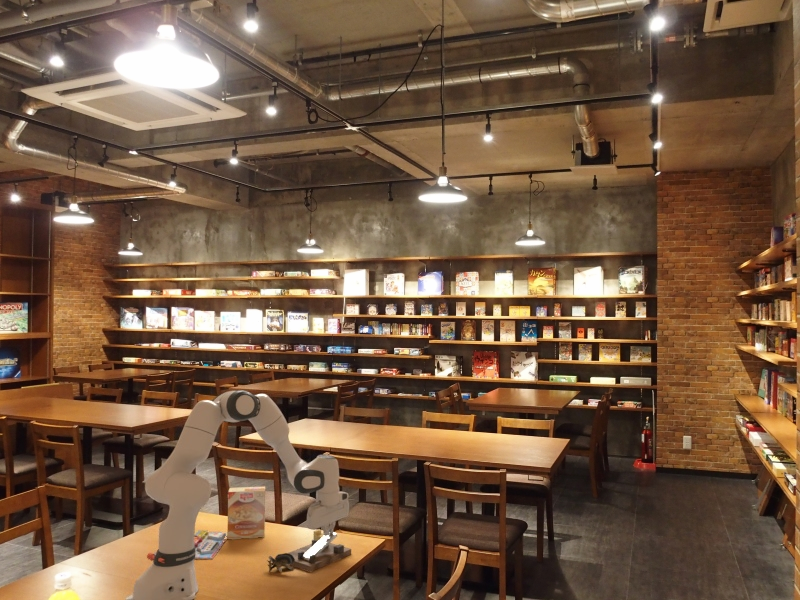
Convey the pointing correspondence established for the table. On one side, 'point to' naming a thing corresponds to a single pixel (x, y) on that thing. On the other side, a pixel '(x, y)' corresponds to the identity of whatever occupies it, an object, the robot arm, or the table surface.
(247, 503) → the coffeecake box
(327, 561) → the base
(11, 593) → the table surface
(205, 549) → the puzzle board
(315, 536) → the brass bolt
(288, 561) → the eagle figurine
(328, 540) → the bar
